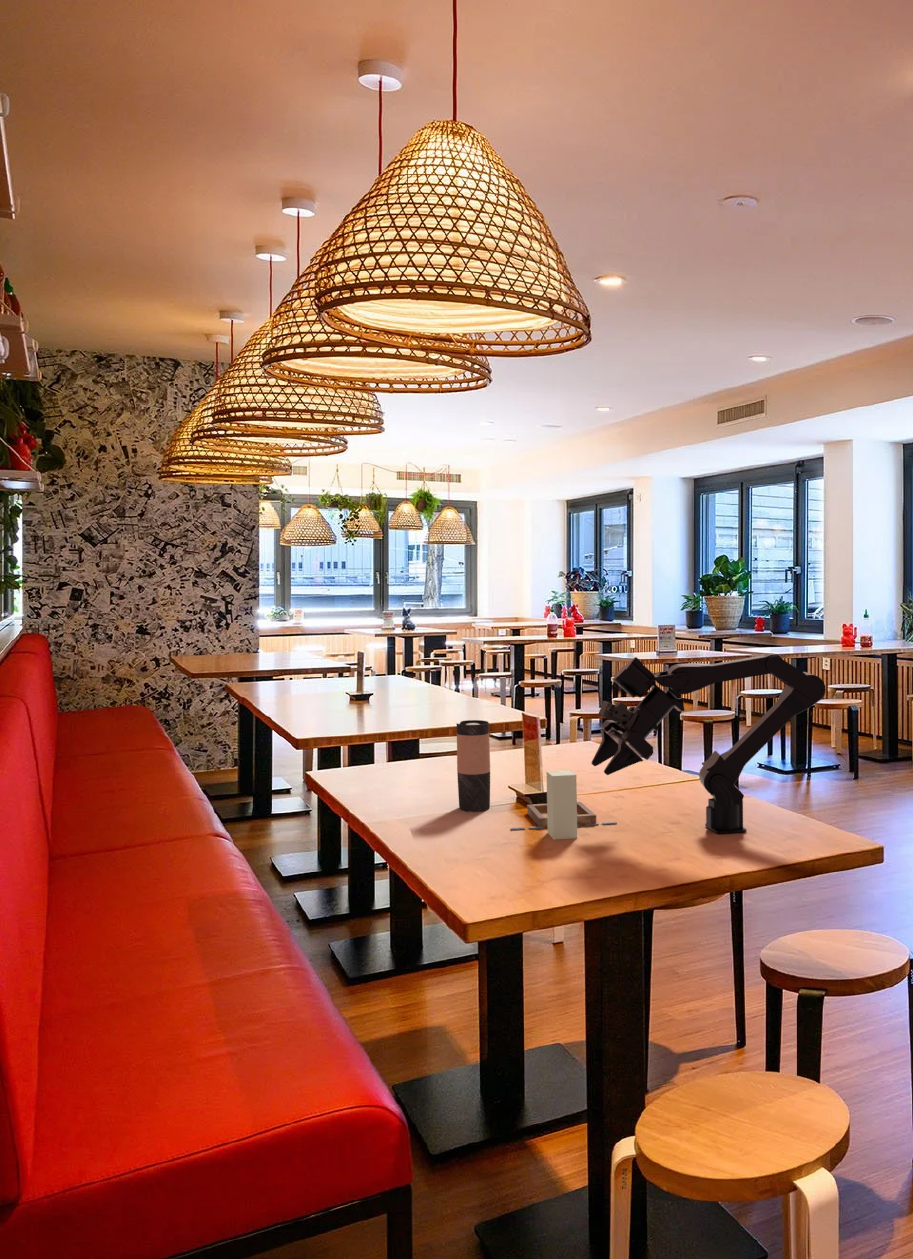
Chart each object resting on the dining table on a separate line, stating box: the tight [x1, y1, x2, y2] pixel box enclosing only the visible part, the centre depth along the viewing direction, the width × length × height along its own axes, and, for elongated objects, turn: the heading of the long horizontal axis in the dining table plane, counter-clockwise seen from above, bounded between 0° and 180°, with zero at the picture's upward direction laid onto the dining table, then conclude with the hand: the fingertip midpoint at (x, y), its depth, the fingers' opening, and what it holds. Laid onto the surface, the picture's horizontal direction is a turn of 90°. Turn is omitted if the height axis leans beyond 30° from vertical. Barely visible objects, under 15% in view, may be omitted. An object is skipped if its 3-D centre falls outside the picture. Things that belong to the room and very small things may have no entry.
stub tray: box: [526, 801, 597, 829], centre depth 207 cm, size 12×12×2 cm
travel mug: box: [456, 719, 491, 812], centre depth 218 cm, size 8×8×20 cm
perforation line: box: [510, 821, 618, 831], centre depth 200 cm, size 23×1×1 cm, turn 98°
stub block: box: [546, 769, 578, 841], centre depth 193 cm, size 5×5×13 cm
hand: (599, 769), depth 194 cm, fingers open, 9 cm apart
